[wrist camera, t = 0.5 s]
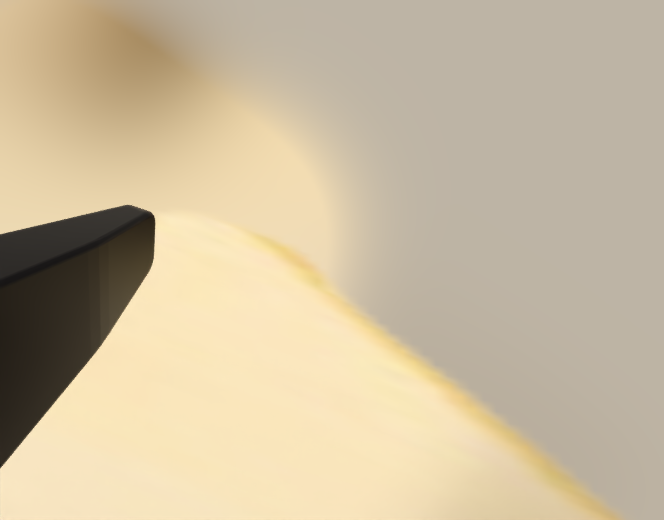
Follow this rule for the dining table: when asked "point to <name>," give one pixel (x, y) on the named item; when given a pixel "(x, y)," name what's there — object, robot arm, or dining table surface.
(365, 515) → the dining table surface
